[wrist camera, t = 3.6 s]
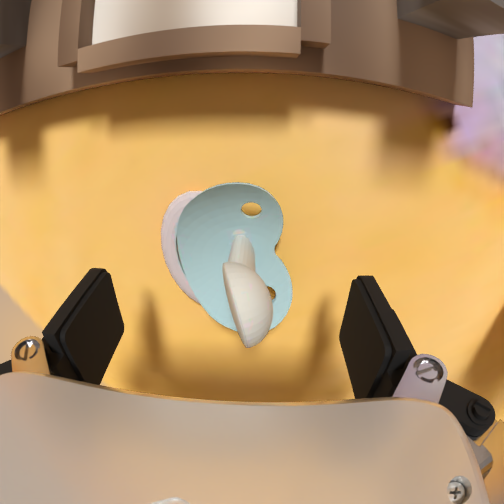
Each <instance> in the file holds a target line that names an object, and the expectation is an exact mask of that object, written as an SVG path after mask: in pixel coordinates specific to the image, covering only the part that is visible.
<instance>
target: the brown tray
mask: <svg viewBox="0 0 504 504" xmlns="http://www.w3.org/2000/svg"><path fill="white" fill-rule="evenodd" d="M493 34H504V0H0V115H2V114H5V113H7V112H10V111H13V110H16V109H19V108H22V107H25V106H28V105H31V104H34V103H37V102H40V101H43V100H47V99H50V98H54V97H57V96H61V95H65V94H69V93H73V92H77V91H81V90H86V89H90V88H95V87H100V86H105V85H110V84H115V83H121V82H127V81H134V80H140V79H148V78H156V77H165V76H175V75H187V74H203V73H280V74H296V75H308V76H318V77H327V78H336V79H343V80H350V81H356V82H363V83H368V84H374V85H379V86H384V87H389V88H394V89H399V90H403V91H407V92H411V93H416V94H419V95H423V96H427V97H431V98H434V99H438V100H441V101H445V102H448V103H451V104H454V105H461V106H467V107H472V104H473V86H474V43H473V37H476V36H484V35H493Z"/></svg>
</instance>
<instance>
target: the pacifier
mask: <svg viewBox="0 0 504 504" xmlns="http://www.w3.org/2000/svg"><path fill="white" fill-rule="evenodd" d="M248 202H254V203H257V204H259V205H260V206H261V209H262V210H261V212H260V213H259V214H258V215H255V216H249V215H246V214H244V213H243V211H242V209H241V207H242V206H243V205H244V204H245V203H248ZM282 228H283V215H282V211H281V208H280V206H279V204H278V202H277V201H276V199H275V198H274V197H273V196H272V195H271V194H270V193H269V192H268V191H266V190H265V189H263V188H261V187H259V186H256V185H253V184H249V183H239V182H237V183H225V184H220V185H216V186H213V187H211V188H208V189H206V190H205V191H188V192H186V193H184V194H181V195H179V196H178V197H177V198H176V199H175V200H174V201H173V202H172V203H171V204H170V205H169V206H168V209H167V211H166V213H165V215H164V217H163V222H162V228H161V244H162V250H163V254H164V259H165V262H166V265H167V267H168V269H169V271H170V273H171V276H172V277H173V279H174V280H175V282H176V283H177V284H178V286H179V287H180V288H181V289H182V290H183V291H184V292H185V293H186V294H187V295H188V296H189V297H190V298H191V299H193V300H194V301H196V302H197V303H199V304H201V305H202V307H203V308H204V309H205V310H206V311H207V313H208V314H209V315H210V316H211V317H212V318H214V319H215V320H216V321H217V322H218V323H220V324H222V325H224V326H225V327H228V328H230V329H232V330H234V331H238V334H239V336H240V338H241V340H242V342H243V344H244V345H245V347H246V348H250V347H253V346H255V345H257V344H258V343H259V342H261V341H262V340H263V339H264V338H265V336H266V335H267V333H268V331H269V330H270V329H272V328H274V327H275V326H277V325H278V324H279V323H280V322H281V321H282V320H283V318H284V317H285V316H286V314H287V312H288V310H289V308H290V305H291V301H292V283H291V278H290V276H289V273H288V271H287V269H286V267H285V265H284V264H283V262H282V260H281V259H280V258H279V257H278V256H277V255H276V254H275V245H276V244H277V242H278V241H279V238H280V235H281V233H282ZM267 286H269V287H272V288H273V289H274V291H275V292H276V296H275V298H274V299H273V300H272V299H271V295H270V293H269V290H268V288H267Z"/></svg>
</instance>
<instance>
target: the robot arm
mask: <svg viewBox="0 0 504 504" xmlns="http://www.w3.org/2000/svg"><path fill="white" fill-rule="evenodd" d="M123 332H124V323H123V320H122V316H121V313H120V309H119V306H118V302H117V298H116V295H115V291H114V287H113V283H112V279H111V275H110V273H108V272H107V271H106V269H101V268H91V269H90V270H89V271H88V273H87V274H86V275H85V276H84V278H83V279H82V280H81V281H80V283H79V284H78V285H77V286H76V288H75V289H74V290H73V291H72V293H71V294H70V295H69V296H68V298H67V299H66V300H65V302H64V303H63V304H62V306H61V307H60V308H59V310H58V311H57V312H56V314H55V315H54V316H53V318H52V319H51V320H50V322H49V323H48V325H47V326H46V327H45V329H44V330H43V332H42V333H43V336H44V337H43V338H42V340H41V339H39V338H38V337H33V336H30V337H25V338H23V339H21V340H20V341H19V342H17V343H16V344H15V346H14V347H13V349H12V352H11V360H9V361H7V362H5V363H2V364H0V504H504V422H503V421H502V420H501V419H500V420H499V421H498V422H497V421H496V420H495V411H494V408H493V406H492V405H491V404H490V402H489V401H487V400H486V399H484V398H483V397H481V396H479V395H477V394H475V393H473V392H471V391H469V390H467V389H465V388H463V387H461V386H459V385H457V384H455V383H453V382H451V381H449V380H447V369H446V367H445V365H444V363H443V362H442V361H441V360H439V359H438V358H436V357H434V356H432V355H429V354H420V355H417V354H416V352H415V350H414V348H413V346H412V344H411V342H410V340H409V338H408V336H407V334H406V332H405V330H404V328H403V326H402V324H401V322H400V321H399V319H398V317H397V315H396V313H395V311H394V310H393V309H391V307H390V305H389V303H388V302H387V300H386V298H385V296H384V294H383V293H382V291H381V289H380V287H379V285H378V284H377V282H376V280H375V278H374V277H373V276H358V277H357V279H354V280H353V281H352V283H351V288H350V292H349V297H348V301H347V305H346V310H345V314H344V318H343V322H342V326H341V329H340V334H339V340H340V344H341V348H342V351H343V355H344V358H345V362H346V365H347V369H348V373H349V377H350V380H351V384H352V388H353V392H354V396H355V399H349V400H333V401H310V402H239V401H219V400H204V399H192V398H182V397H173V396H164V395H156V394H149V393H142V392H135V391H129V390H123V389H117V388H112V387H106V386H101V385H100V383H101V381H102V378H103V376H104V374H105V372H106V369H107V367H108V365H109V363H110V361H111V358H112V356H113V354H114V352H115V350H116V348H117V345H118V343H119V341H120V339H121V337H122V335H123Z"/></svg>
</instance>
